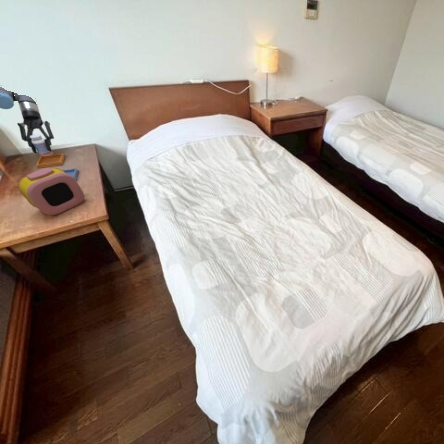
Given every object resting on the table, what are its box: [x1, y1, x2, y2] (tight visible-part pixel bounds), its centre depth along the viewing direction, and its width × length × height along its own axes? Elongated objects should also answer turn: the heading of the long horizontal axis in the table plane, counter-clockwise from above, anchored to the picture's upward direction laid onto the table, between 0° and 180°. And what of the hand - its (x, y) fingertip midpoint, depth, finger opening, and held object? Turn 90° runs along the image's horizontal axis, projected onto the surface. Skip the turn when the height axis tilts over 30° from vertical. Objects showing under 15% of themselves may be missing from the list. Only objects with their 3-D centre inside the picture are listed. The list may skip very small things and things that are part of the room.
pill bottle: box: [30, 133, 54, 156], centre depth 143 cm, size 6×6×11 cm
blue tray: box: [62, 167, 79, 181], centre depth 139 cm, size 11×11×2 cm
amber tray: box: [35, 152, 66, 169], centre depth 150 cm, size 11×11×2 cm
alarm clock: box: [17, 167, 85, 216], centre depth 117 cm, size 18×11×19 cm, turn 151°
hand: (42, 151), depth 142 cm, fingers closed on pill bottle, 6 cm apart
